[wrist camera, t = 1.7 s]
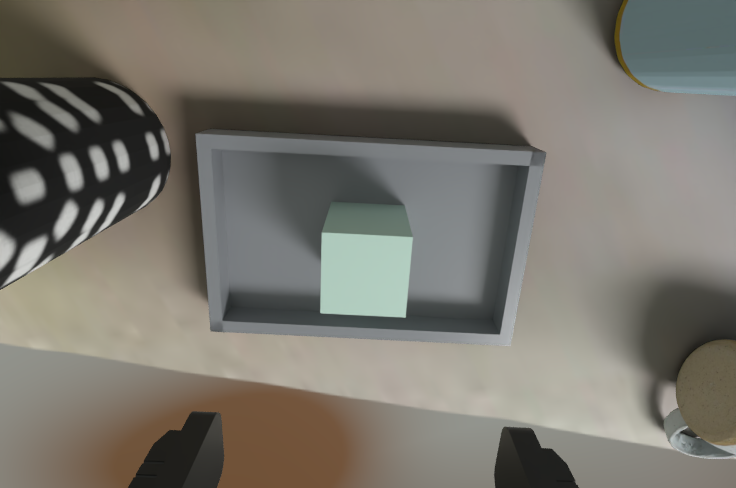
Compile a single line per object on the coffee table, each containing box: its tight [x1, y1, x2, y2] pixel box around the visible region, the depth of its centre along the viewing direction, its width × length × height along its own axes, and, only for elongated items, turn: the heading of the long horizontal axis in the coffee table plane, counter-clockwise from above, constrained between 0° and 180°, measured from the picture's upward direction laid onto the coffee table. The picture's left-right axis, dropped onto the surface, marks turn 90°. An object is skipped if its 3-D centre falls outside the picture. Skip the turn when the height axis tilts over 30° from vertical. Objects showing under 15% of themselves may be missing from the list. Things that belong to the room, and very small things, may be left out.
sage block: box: [320, 202, 413, 318], centre depth 27 cm, size 5×5×6 cm
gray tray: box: [195, 129, 546, 346], centre depth 29 cm, size 20×13×2 cm, turn 87°
